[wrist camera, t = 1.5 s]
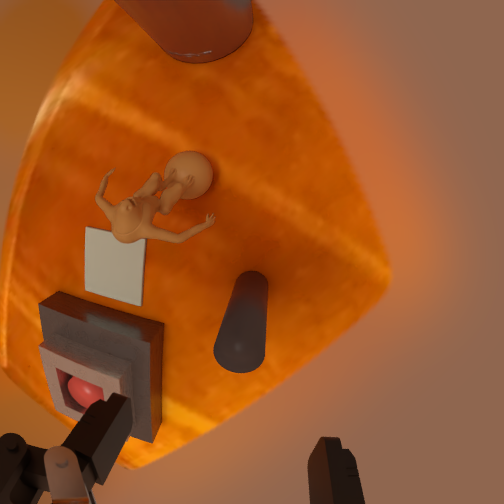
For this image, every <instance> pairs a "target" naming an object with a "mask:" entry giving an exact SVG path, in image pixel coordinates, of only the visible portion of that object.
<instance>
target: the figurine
mask: <svg viewBox="0 0 504 504" xmlns="http://www.w3.org/2000/svg"><path fill="white" fill-rule="evenodd" d="M114 169H115V168H114ZM114 169H112V170H110V171H109V172H108V173H107V174H106V175H105V176H104V178H103V180H102V181H101V184H100V188H99V191H98V193H97V194H96V196H95V201H96V203H97V205H98V206H99V207H100V208H101V209H102V210H103V211H104V212H105V215H106V217H107V218H108V219H109V220H110V221H111V225H112V234H113V236H114V237H115V238H116V239H117V240H118V241H119V242H121V243H125V244H130V243H134V242H136V241H138V240H140V239H141V238H148V239H159V240H163V241H167V242H172V243H182V242H184V241H186V240H187V239H188V238H190V237H191V236H193V235H195V234H197V233H199V232H201V231H202V230H203V229H205V228H208V227H210V226H212V225H213V224H214V223H215V221H214V219H215V218H216V216H215V217H214V218H213V219H212V217H213V215H214V213H213V214H212V215H211V216H210V218H209V217H208V216H209V213H208V214H207V216H206V222H205V223H201V224H198V225H196V226H194V227H192V228H190V229H189V230H186V231H184V232H182V233H180V234H176V233H173V232H171V231H168V230H165V229H161V228H158V227H156V226H154V225H153V224H152V221H153V218H154V215H155V213H156V212H160V213H161V214H163V215H168V214H169V213H170V211H171V209H172V207H173V206H174V204H175V203H176V202H177V201H178V200H179V199H194V198H197V197H199V196H201V195H203V194H204V193H205V192H206V191H207V190H208V188H209V187H210V185H211V183H212V179H213V170H212V166H211V164H210V162H209V161H208V159H207V158H206V157H205V156H203V155H202V154H200V153H198V152H195V151H184V152H180V153H178V154H176V155H175V156H173V157H172V158H171V159H170V160H169V162H168V163H167V165H166V168H165V172H164V181H163V182H162V178H161V175H160V174H159V173H153V174H152V175H151V177H150V178H149V179H148V180H147V181H146V183H145V184H144V185H143V187H142V188H140V189H139V190H138V191H137V192H135V193H134V194H133V197H128V198H127V199H125V200H123V201H121V202H120V203H119V204H117V205H116V206H113V205H112V204H111V203H110V202H108V201H107V200H106V199H104V198H103V195H104V193H105V190H106V187H107V184H108V177H109V176H110V174H112V173H113V172H114ZM166 187H167V189H165V188H166ZM164 189H165V190H164ZM162 190H164V191H163V192H162V194H161V197H160V199H158V197H156V196H154V195H155V194H156V193H157V191H162Z"/></svg>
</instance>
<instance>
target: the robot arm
mask: <svg viewBox="0 0 504 504" xmlns="http://www.w3.org/2000/svg"><path fill="white" fill-rule="evenodd" d="M114 1H115V2H116V3H117V4H119V5H120V6H121V7H122V8H123V9H124V10H125V11H126V12H127V13H128V14H129V15H130V16H131V17H132V18H133V19H134V20H135V21H136V22H137V23H138V24H139V25H140V26H141V27H142V28H143V29H144V30H145V31H146V32H147V33H148V34H149V35H150V36H151V37H152V38H153V40H154V41H155V42H156V43H157V44H158V45H159V46H160V47H161V48H162V49H163V50H164V51H165V52H166V53H167V54H168V55H170V56H171V57H173V58H174V59H177V60H180V61H183V62H189V63H204V62H209V61H214V60H216V59H219V58H222V57H224V56H226V55H228V54H230V53H231V52H233V51H234V50H236V49H237V48H238V47H239V46H241V45H242V43H243V42H244V41H245V40H246V39H247V37H248V35H249V34H250V32H251V29H252V25H253V13H252V6H251V0H114ZM132 425H133V415H132V405H131V399H130V398H129V397H126V396H123V395H121V394H118V393H115V392H113V393H112V394H111V395H110V397H109V398H108V400H107V401H104V400H102V399H99V400H98V401H96V402H94V403H92V404H91V405H90V406H89V408H88V409H87V410H86V412H85V414H83V416H82V417H81V419H80V421H78V423H77V424H76V426H75V427H74V428H73V430H72V431H71V433H70V434H69V436H68V437H67V438H66V440H65V441H64V443H63V444H62V445H61V446H55V447H52V448H50V449H43V448H39V447H35V446H31V445H28V444H26V442H25V440H24V439H23V438H22V437H21V436H20V435H18V434H15V433H7V434H4V435H3V436H1V437H0V504H37V503H38V501H39V499H40V497H41V495H42V493H43V491H48V492H50V494H51V498H52V504H96V501H95V498H94V495H93V492H92V487H93V485H94V484H95V482H96V483H98V484H100V485H103V484H104V482H105V480H106V478H107V476H108V474H109V472H110V471H111V469H112V467H113V465H114V463H115V461H116V459H117V457H118V455H119V453H120V451H121V449H122V447H123V445H124V443H125V441H126V439H127V438H128V436H129V434H130V432H131V429H132ZM308 480H309V495H310V504H365V501H364V496H363V492H362V487H361V483H360V478H359V473H358V469H357V464H356V460H355V457H354V456H353V454H352V453H351V452H350V451H349V449H342V445H341V441H340V438H338V437H321V438H320V439H319V441H318V443H317V445H316V446H315V448H314V450H313V452H312V453H311V455H310V457H309V460H308Z"/></svg>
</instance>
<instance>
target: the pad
mask: <svg viewBox="0 0 504 504" xmlns="http://www.w3.org/2000/svg"><path fill="white" fill-rule="evenodd" d="M146 242H147V238H141V239H140V240H138V241H136V242H134V243H130V244H125V243H121V242H119V241H118V240H117V239H116V238H115V237H114V236H113V234H112V231H108V230H103V229H98V228H94V227H89V226H87V227H86V234H85V290H86V291H90V292H93V293H96V294H99V295H103V296H106V297H109V298H113V299H116V300H120V301H123V302H127V303H130V304H134V305H137V306H142V302H143V282H144V266H145V253H146Z"/></svg>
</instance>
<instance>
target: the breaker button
mask: <svg viewBox="0 0 504 504" xmlns="http://www.w3.org/2000/svg"><path fill="white" fill-rule="evenodd" d="M68 389H69V392H70V394H71V395H72V397H73V398H74V399H75V400H76V401H77V402H78V403H79V404H80V405H82V406H83V407H85V408H87V409H88V408H89V406H90V405H91V404H92V403H94V402H96V401H98V400H99V399H102V400H104V394H103V388H101V387H99V386H96V385H94V384H91V383H89V382H87V381H84V380H82V379H80V378H77V377H75V376H73V377H72V378H71V379H70V380H69V382H68ZM104 401H105V400H104Z"/></svg>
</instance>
